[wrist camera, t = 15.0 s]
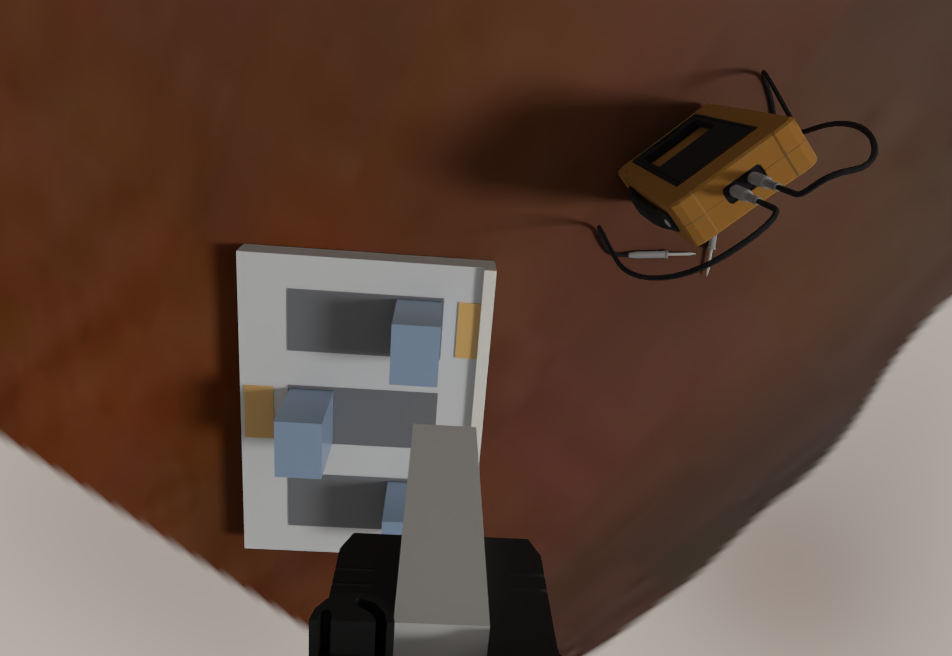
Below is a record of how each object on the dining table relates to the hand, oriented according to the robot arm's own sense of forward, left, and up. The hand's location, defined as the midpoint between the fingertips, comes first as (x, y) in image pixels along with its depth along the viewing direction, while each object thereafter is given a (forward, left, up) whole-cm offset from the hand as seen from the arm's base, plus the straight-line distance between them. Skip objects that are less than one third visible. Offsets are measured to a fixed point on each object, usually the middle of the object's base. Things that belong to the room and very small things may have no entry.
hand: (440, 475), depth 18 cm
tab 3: (+8, -1, -32) cm, 33 cm away
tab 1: (+15, -9, -32) cm, 36 cm away
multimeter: (-2, +17, -34) cm, 38 cm away
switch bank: (+15, -5, -34) cm, 37 cm away
